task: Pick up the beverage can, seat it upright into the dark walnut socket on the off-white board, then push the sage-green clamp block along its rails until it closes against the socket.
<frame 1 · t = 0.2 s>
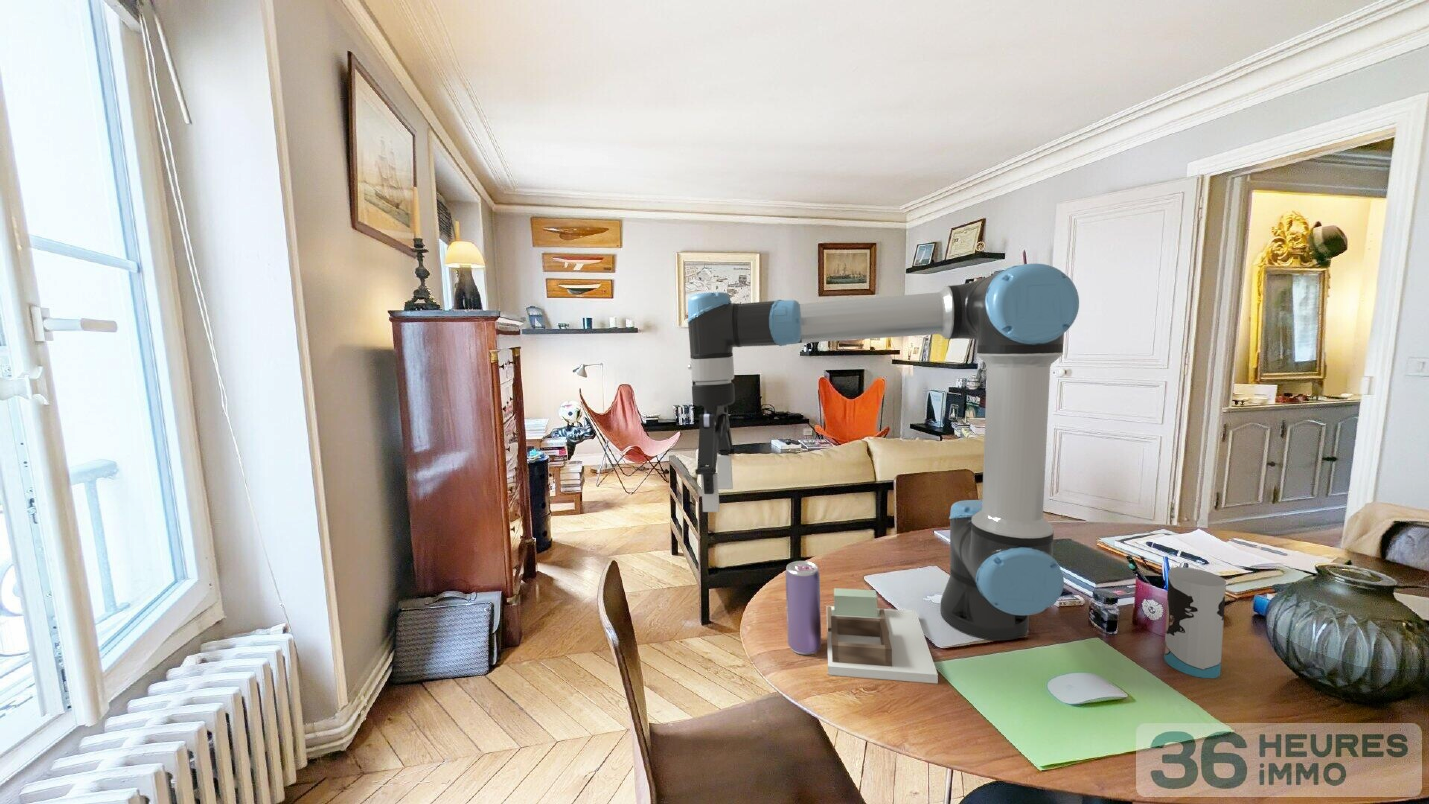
hand: (718, 499, 94), 27 cm above the table, fingers open, 13 cm apart
cup: (1191, 666, 84), on the table
clamp block: (855, 602, 102), point 4 cm above the table, slide at 0.0 cm
board: (875, 643, 94), on the table
beverage can: (804, 647, 94), on the table
socket: (859, 655, 91), resting on board
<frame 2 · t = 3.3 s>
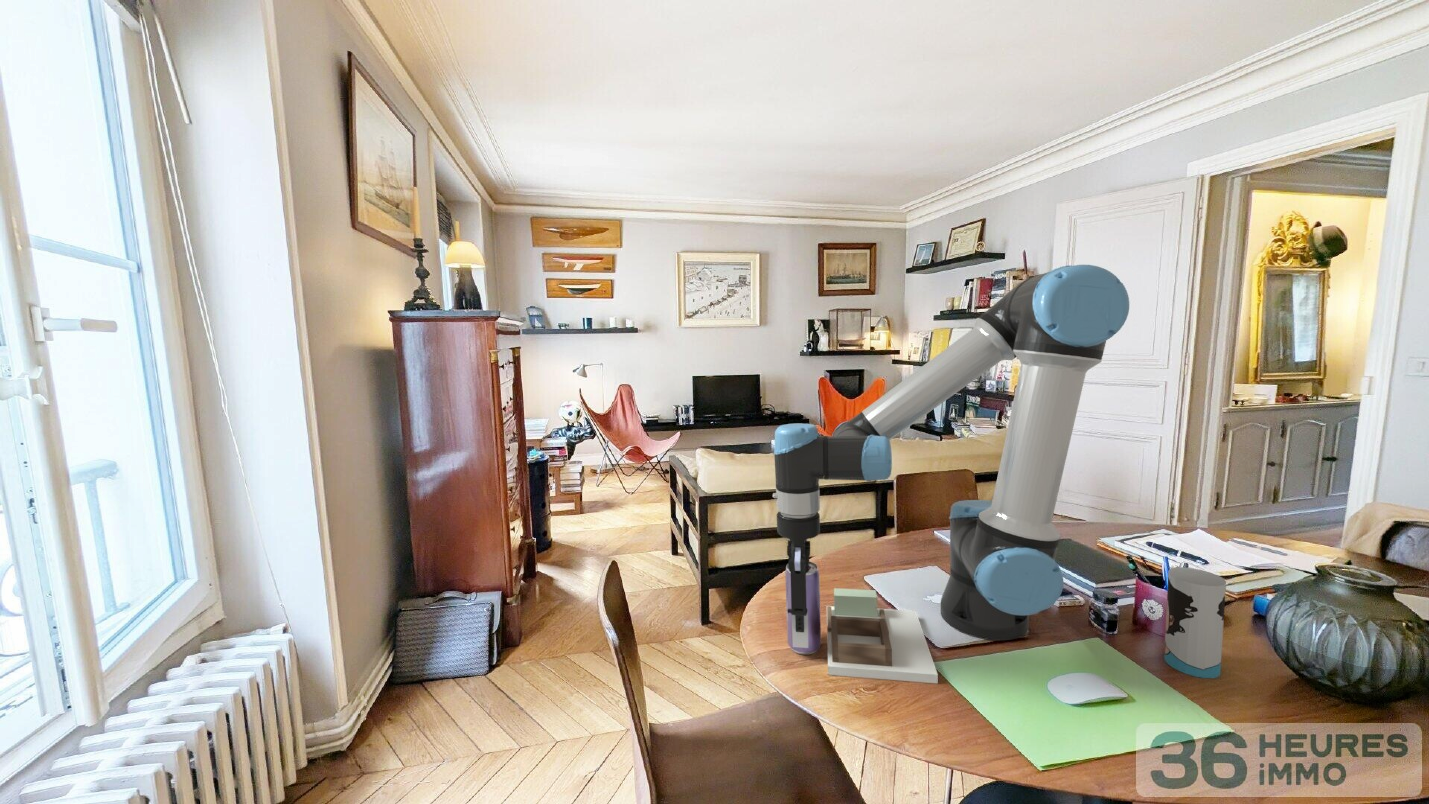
hand: (801, 635, 94), 2 cm above the table, fingers closed on beverage can, 6 cm apart
beverage can: (804, 647, 95), on the table, touching gripper
everything else where it was.
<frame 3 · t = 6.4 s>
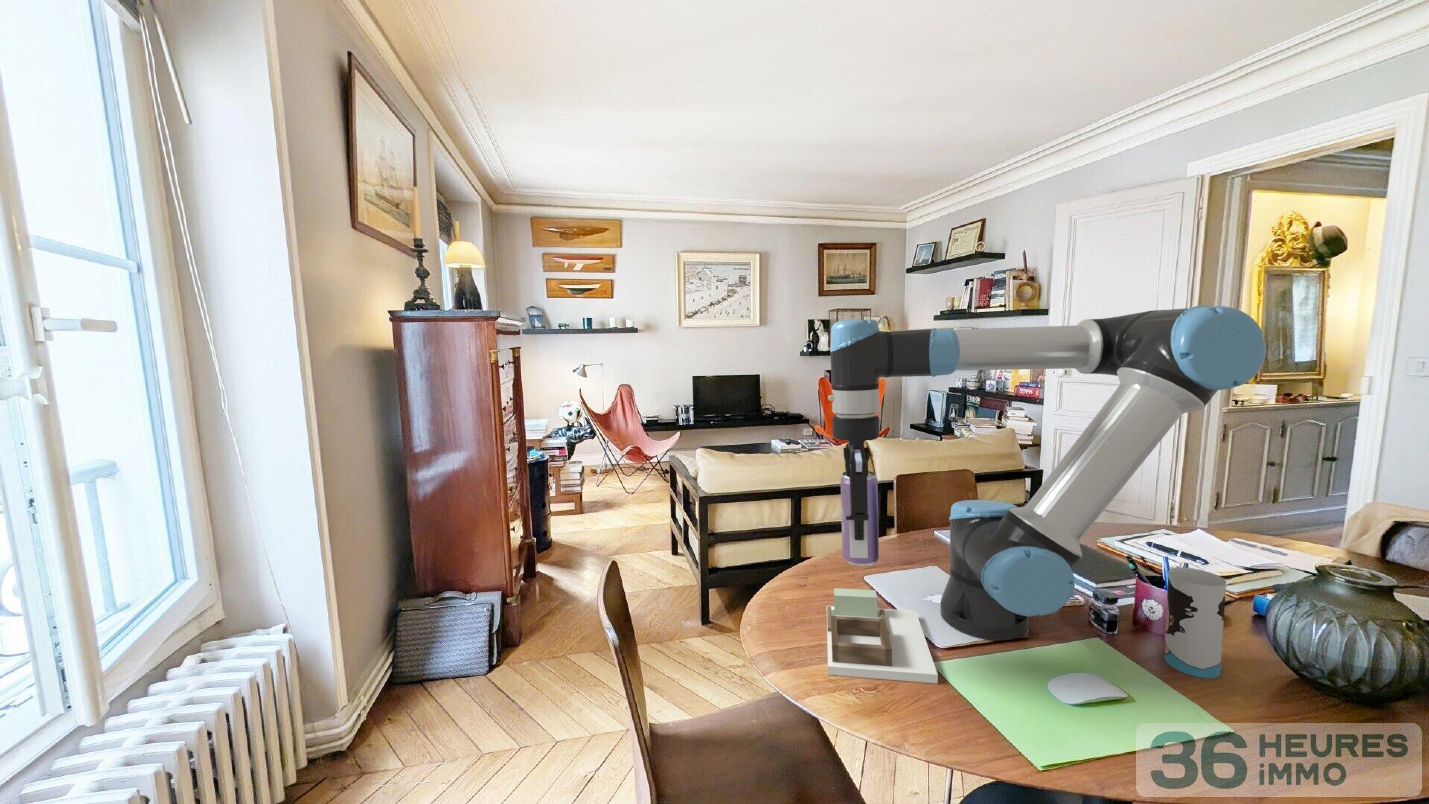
hand: (857, 548, 89), 19 cm above the table, fingers closed on beverage can, 6 cm apart
beverage can: (860, 561, 89), point 17 cm above the table, touching gripper
everything else where it was.
when the fingers open (5 cm above the table, at t = 9.2 s): beverage can drops 1 cm, resting on board.
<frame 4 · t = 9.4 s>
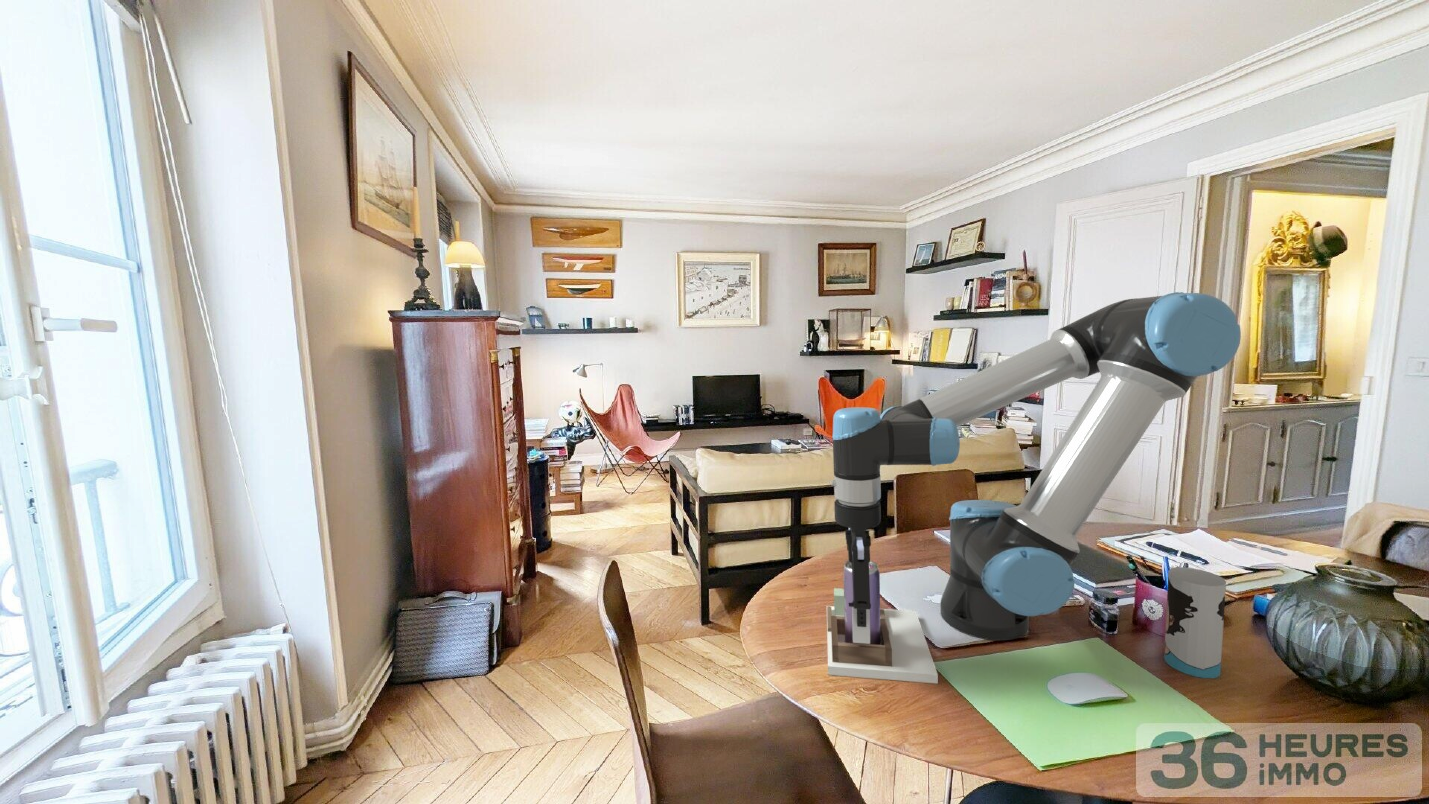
hand: (859, 626, 90), 5 cm above the table, fingers open, 8 cm apart
beverage can: (862, 648, 91), point 1 cm above the table, touching board
everything else where it was.
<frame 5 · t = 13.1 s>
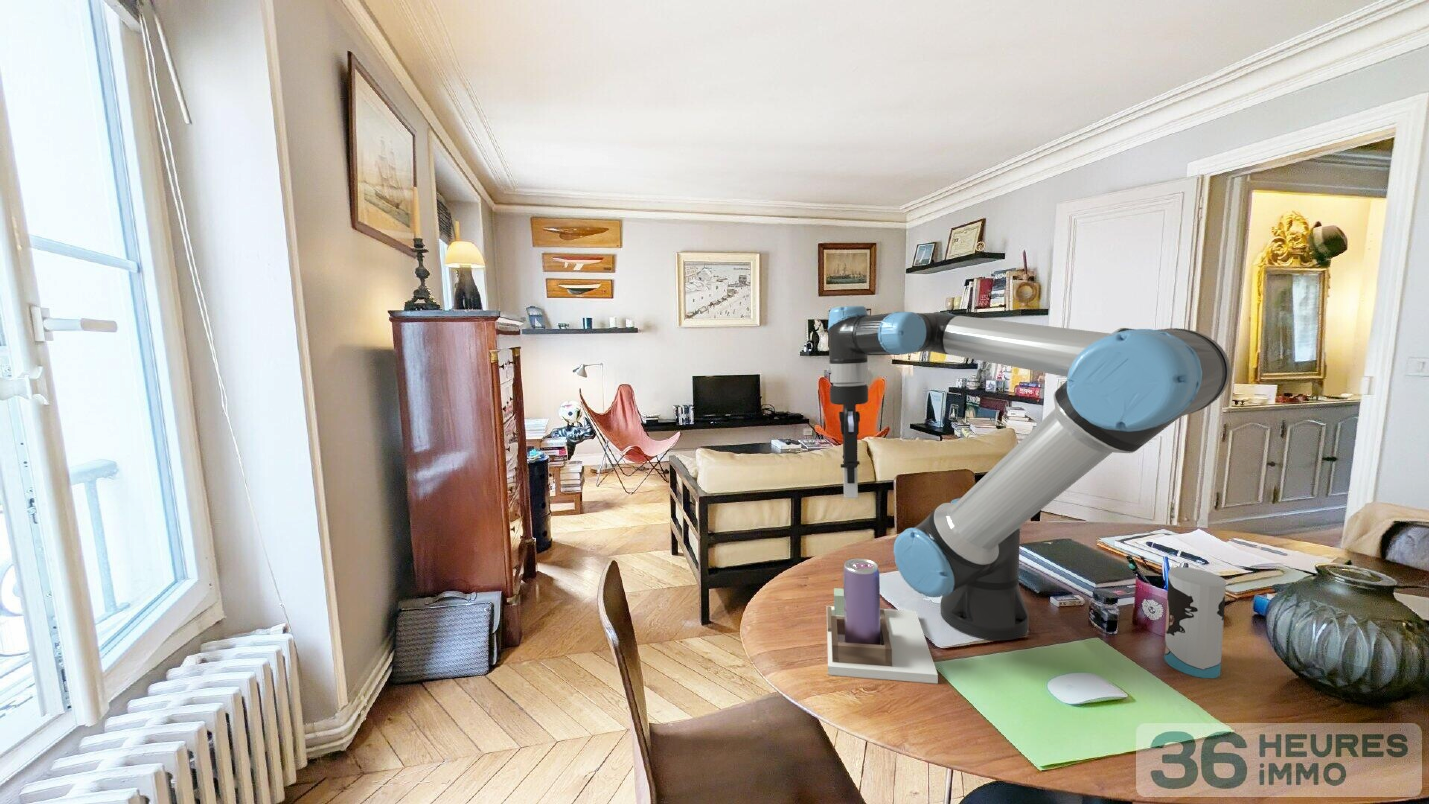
hand: (850, 496, 108), 22 cm above the table, fingers closed
nothing on the table moved.
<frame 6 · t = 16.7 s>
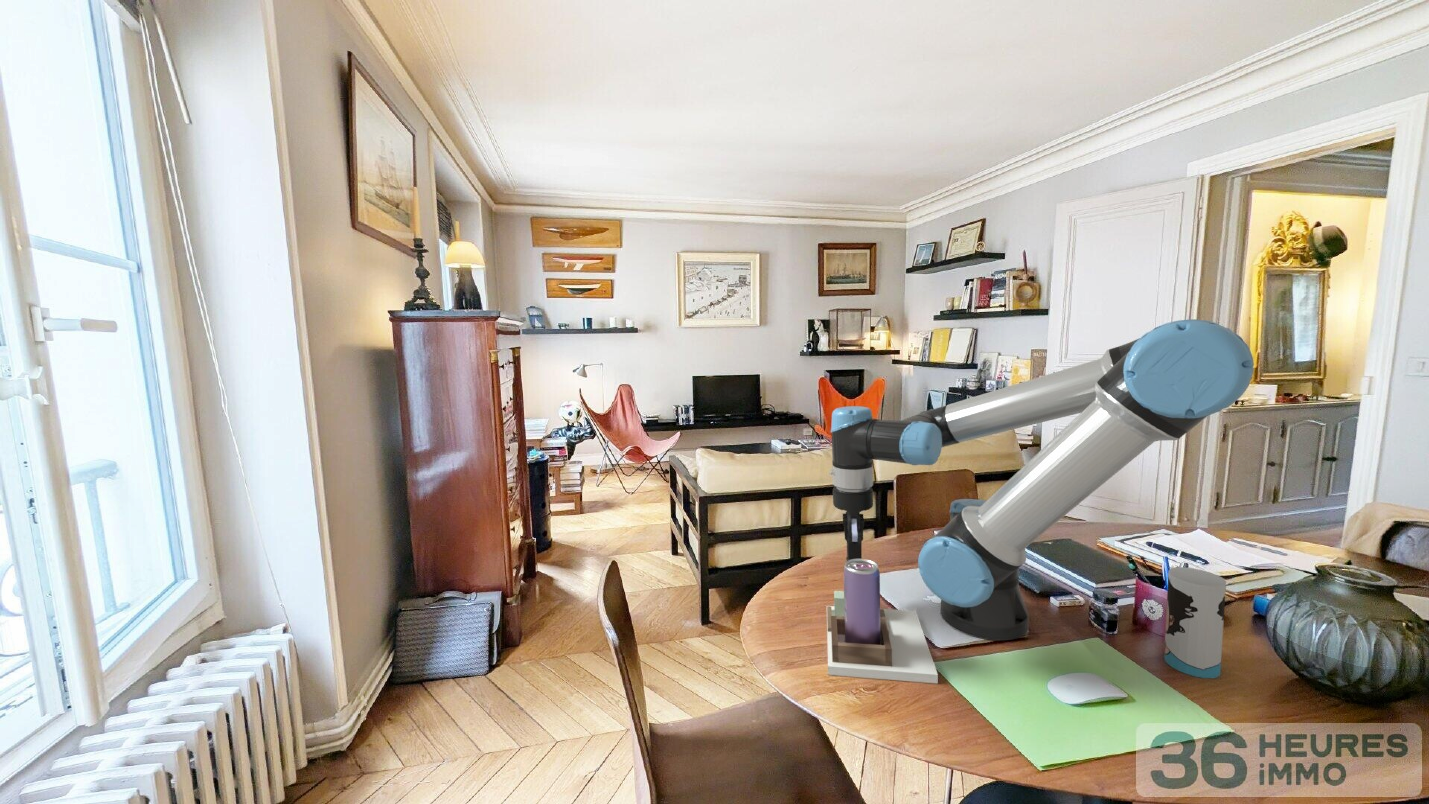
hand: (854, 602, 103), 3 cm above the table, fingers closed
clamp block: (855, 605, 101), point 4 cm above the table, slide at 1.1 cm, touching gripper
everything else where it was.
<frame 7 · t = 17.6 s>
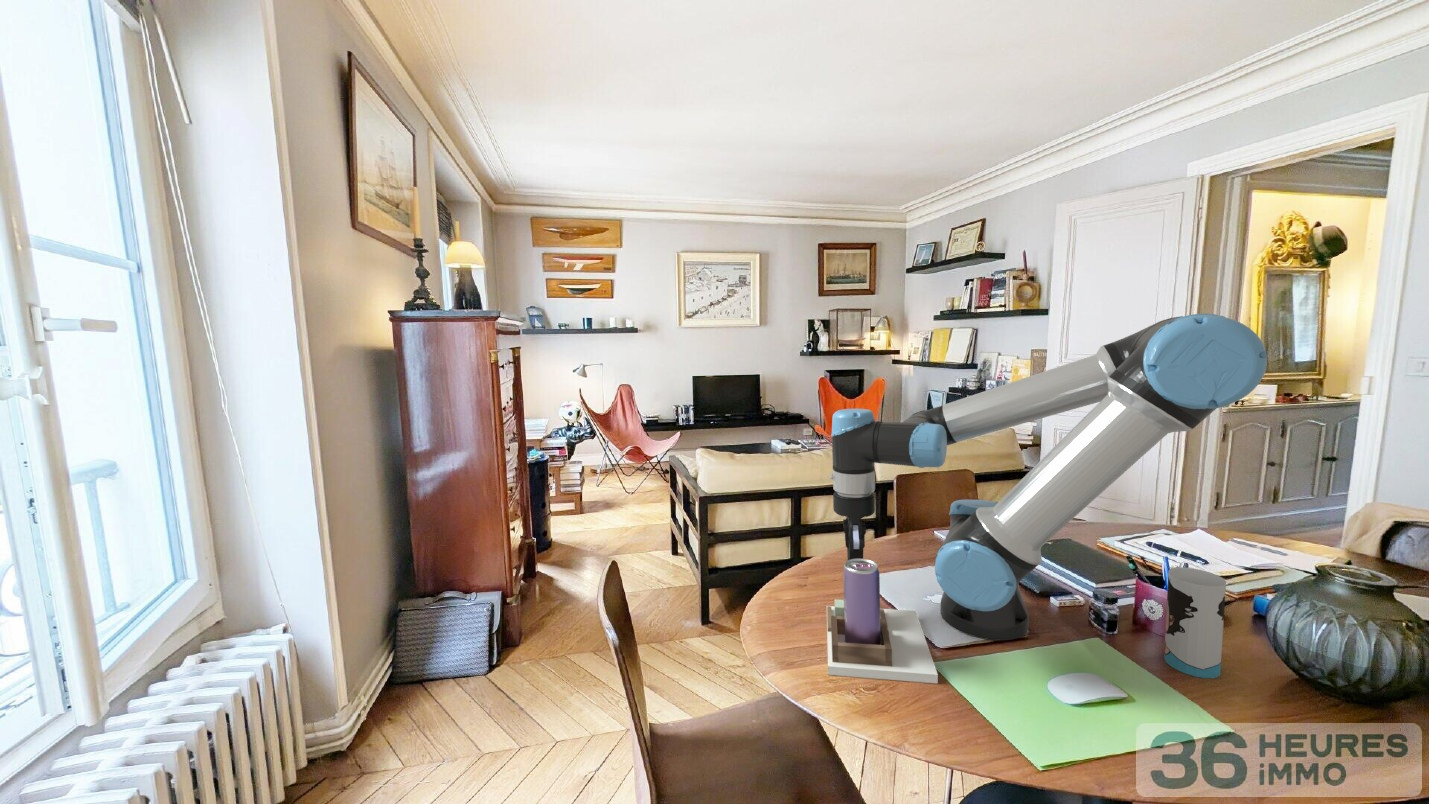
hand: (855, 611, 100), 3 cm above the table, fingers closed
clamp block: (856, 614, 98), point 4 cm above the table, slide at 4.5 cm, touching gripper
everything else where it was.
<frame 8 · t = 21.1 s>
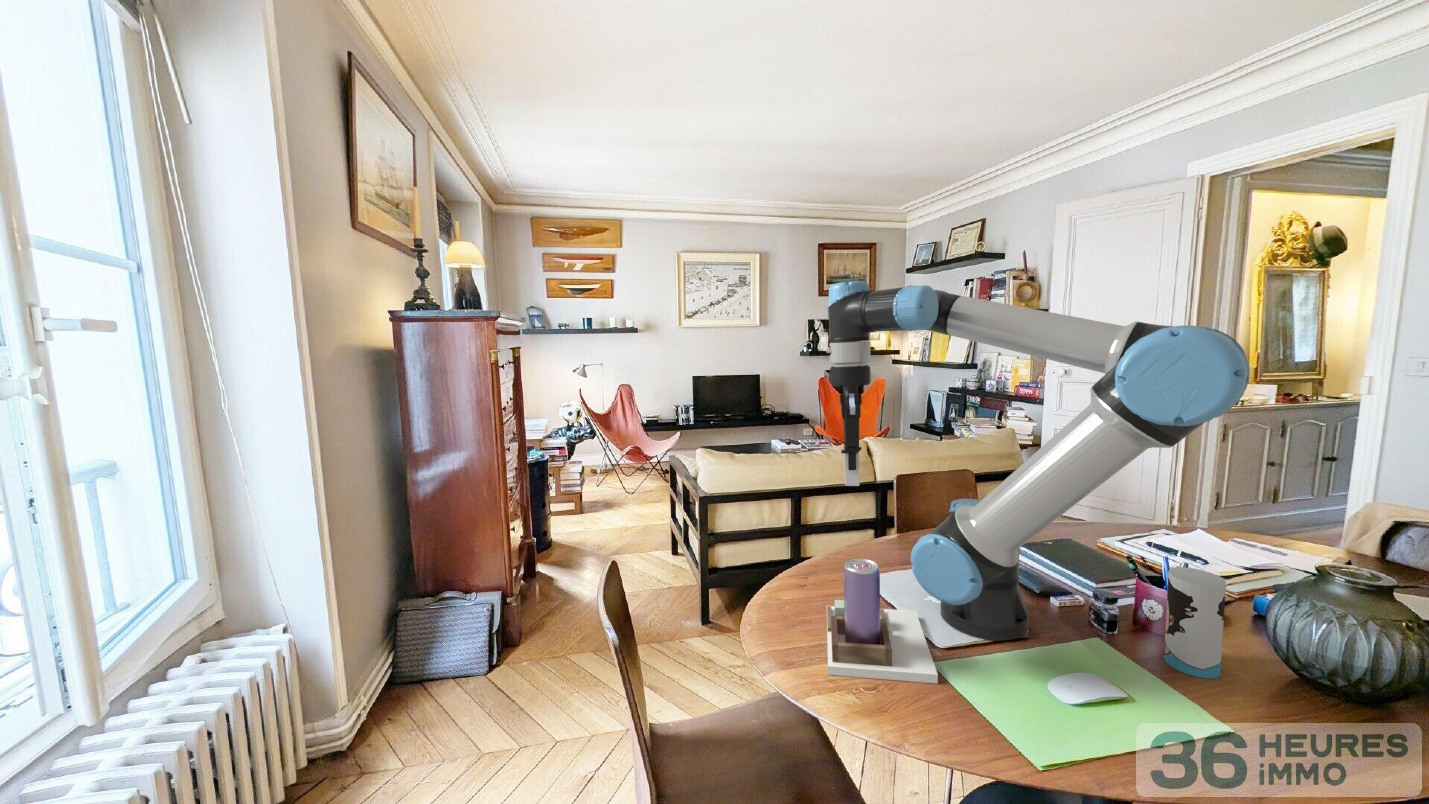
hand: (852, 484, 103), 26 cm above the table, fingers closed
clamp block: (856, 614, 98), point 4 cm above the table, slide at 4.7 cm
everything else where it was.
at the end: beverage can 0.5 cm from the socket (horizontally); beverage can tilted 0°; clamp block slide at 4.7 cm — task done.
